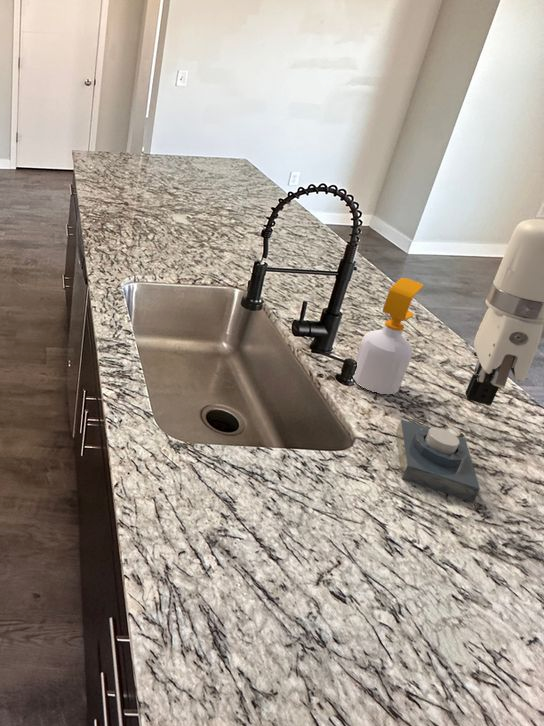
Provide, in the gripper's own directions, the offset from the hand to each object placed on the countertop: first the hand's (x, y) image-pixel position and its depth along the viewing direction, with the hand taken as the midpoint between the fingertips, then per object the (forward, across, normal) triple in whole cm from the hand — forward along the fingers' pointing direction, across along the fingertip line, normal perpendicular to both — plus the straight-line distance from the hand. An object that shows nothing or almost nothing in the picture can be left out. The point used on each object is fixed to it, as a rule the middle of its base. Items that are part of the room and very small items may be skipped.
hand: (477, 399), depth 88 cm
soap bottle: (+16, +22, +10) cm, 29 cm away
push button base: (+16, 0, +2) cm, 16 cm away
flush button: (+11, 0, +2) cm, 11 cm away
